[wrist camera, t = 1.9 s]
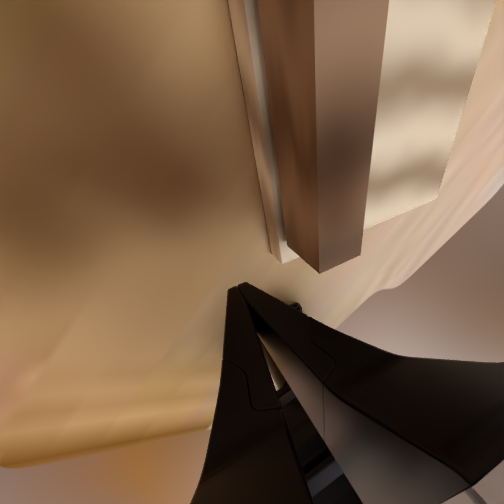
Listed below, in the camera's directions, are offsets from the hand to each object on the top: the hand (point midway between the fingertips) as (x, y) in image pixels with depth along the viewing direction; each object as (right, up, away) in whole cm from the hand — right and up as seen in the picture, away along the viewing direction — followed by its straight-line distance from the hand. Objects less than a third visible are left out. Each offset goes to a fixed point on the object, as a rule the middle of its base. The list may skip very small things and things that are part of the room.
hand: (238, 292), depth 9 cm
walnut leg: (+3, +9, +3) cm, 10 cm away
